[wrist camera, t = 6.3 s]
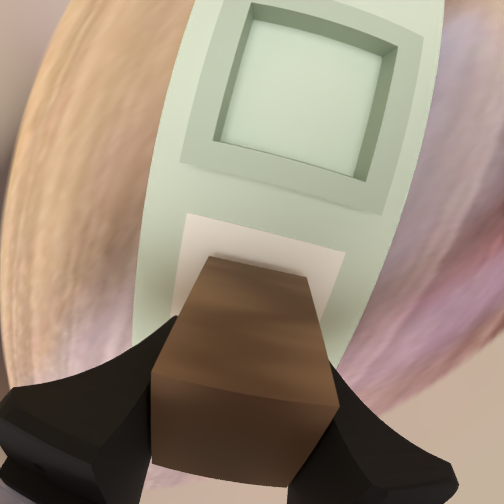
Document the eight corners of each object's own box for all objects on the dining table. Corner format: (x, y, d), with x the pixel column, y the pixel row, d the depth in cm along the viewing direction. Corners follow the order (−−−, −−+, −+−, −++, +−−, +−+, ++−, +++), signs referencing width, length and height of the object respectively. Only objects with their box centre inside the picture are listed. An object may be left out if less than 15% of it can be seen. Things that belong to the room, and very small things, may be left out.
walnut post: (306, 277, 12) (339, 406, 6) (281, 354, 14) (286, 487, 7) (208, 255, 12) (151, 371, 6) (195, 336, 14) (152, 463, 7)
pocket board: (439, 2, 9) (461, -13, 7) (323, 383, 17) (329, 413, 14) (225, -61, 9) (218, -87, 7) (135, 339, 16) (119, 365, 14)
